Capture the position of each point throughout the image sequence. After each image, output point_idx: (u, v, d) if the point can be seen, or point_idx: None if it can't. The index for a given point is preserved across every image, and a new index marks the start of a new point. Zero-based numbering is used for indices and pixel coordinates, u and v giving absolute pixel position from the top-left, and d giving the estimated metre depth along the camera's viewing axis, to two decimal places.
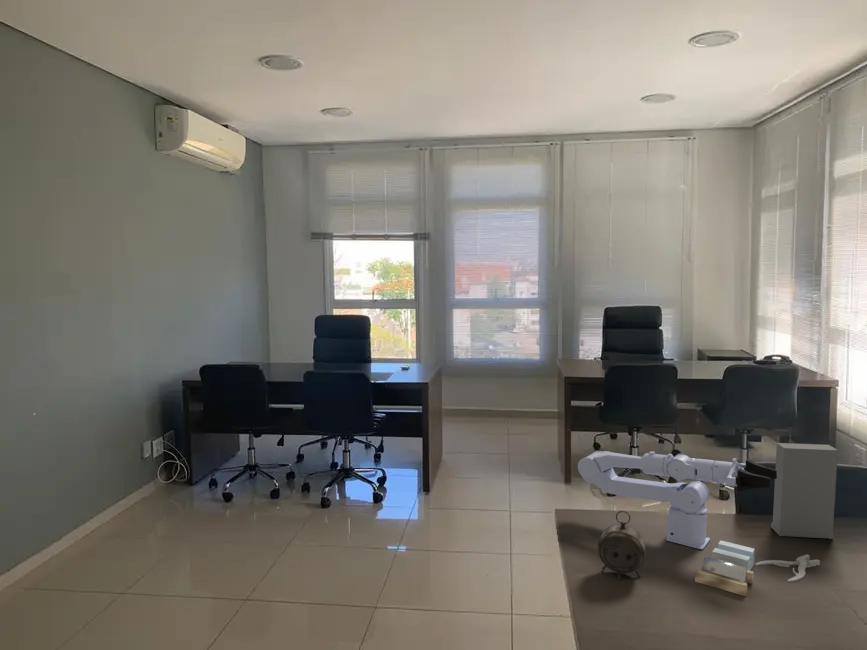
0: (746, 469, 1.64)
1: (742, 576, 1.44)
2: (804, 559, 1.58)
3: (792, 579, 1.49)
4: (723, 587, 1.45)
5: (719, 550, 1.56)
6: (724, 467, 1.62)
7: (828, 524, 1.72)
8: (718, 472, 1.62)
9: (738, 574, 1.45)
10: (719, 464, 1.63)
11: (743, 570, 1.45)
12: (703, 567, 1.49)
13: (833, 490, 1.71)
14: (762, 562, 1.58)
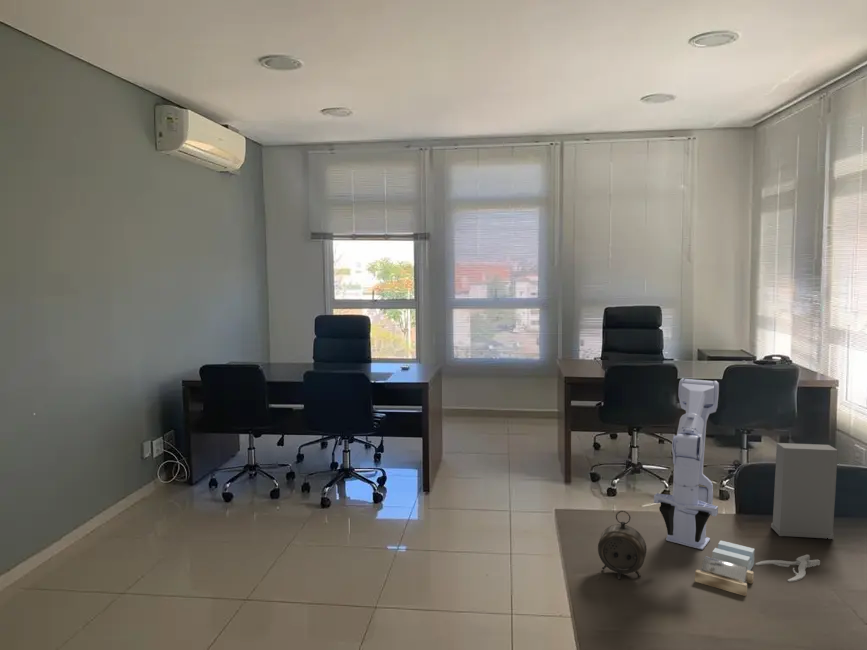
0: (698, 513, 1.51)
1: (742, 576, 1.44)
2: (804, 559, 1.58)
3: (792, 579, 1.50)
4: (723, 587, 1.45)
5: (719, 550, 1.56)
6: (674, 494, 1.53)
7: (828, 524, 1.72)
8: (673, 486, 1.54)
9: (738, 574, 1.45)
10: (676, 490, 1.52)
11: (743, 570, 1.45)
12: (703, 567, 1.49)
13: (833, 490, 1.71)
14: (762, 562, 1.58)
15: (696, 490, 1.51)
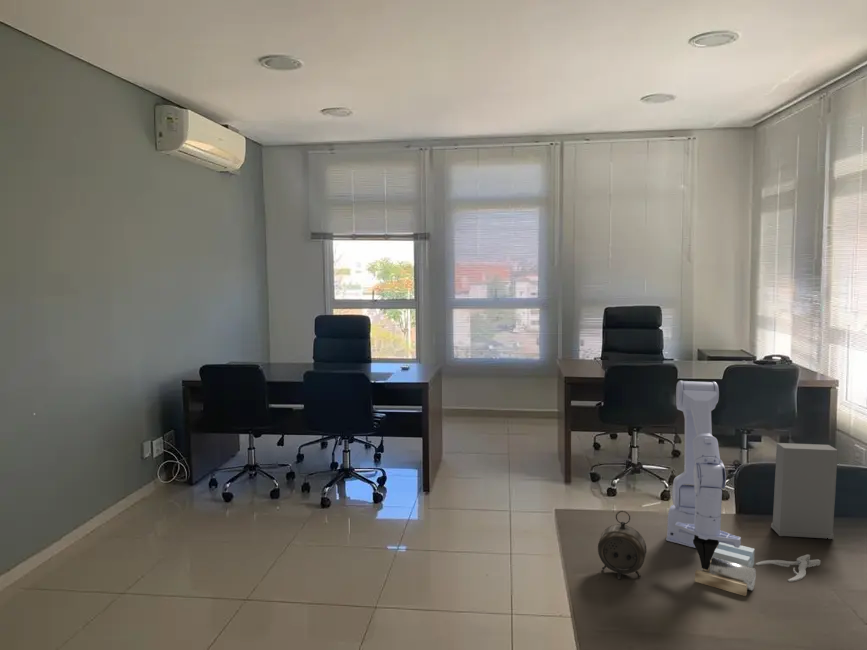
0: (707, 540, 1.50)
1: (750, 577, 1.44)
2: (804, 559, 1.58)
3: (793, 579, 1.50)
4: (723, 587, 1.45)
5: (719, 550, 1.56)
6: (696, 524, 1.50)
7: (828, 524, 1.72)
8: None
9: (746, 575, 1.44)
10: (698, 520, 1.49)
11: (752, 571, 1.44)
12: (711, 567, 1.49)
13: (833, 490, 1.71)
14: (763, 562, 1.58)
15: (718, 521, 1.48)
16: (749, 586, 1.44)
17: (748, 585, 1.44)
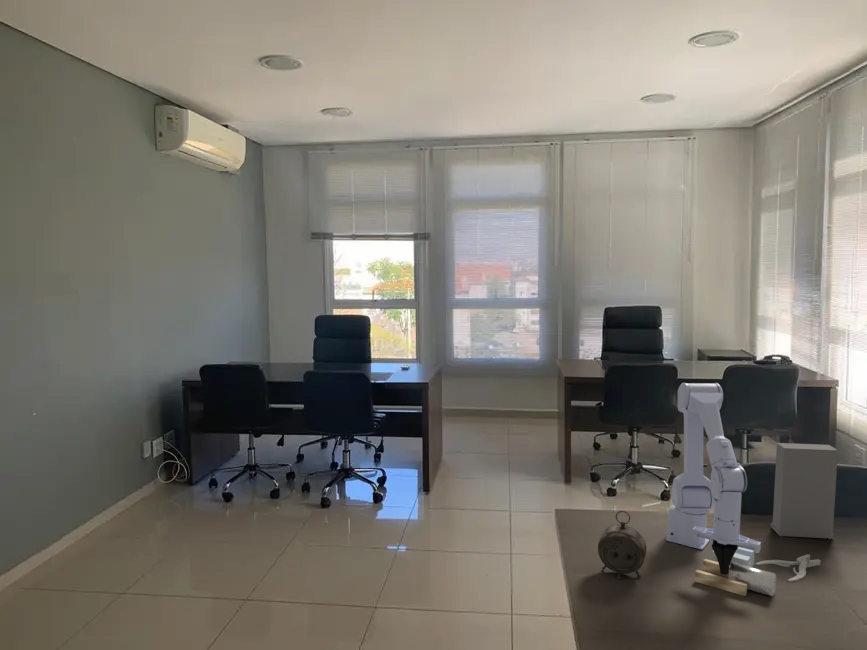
0: (726, 545, 1.48)
1: (771, 582, 1.41)
2: (805, 559, 1.58)
3: (793, 579, 1.50)
4: (723, 587, 1.45)
5: None
6: (715, 528, 1.47)
7: (828, 524, 1.72)
8: (713, 520, 1.49)
9: (767, 580, 1.42)
10: (717, 524, 1.47)
11: (772, 576, 1.42)
12: (730, 573, 1.46)
13: (833, 490, 1.71)
14: (763, 562, 1.58)
15: (737, 525, 1.45)
16: (770, 592, 1.41)
17: (769, 591, 1.41)
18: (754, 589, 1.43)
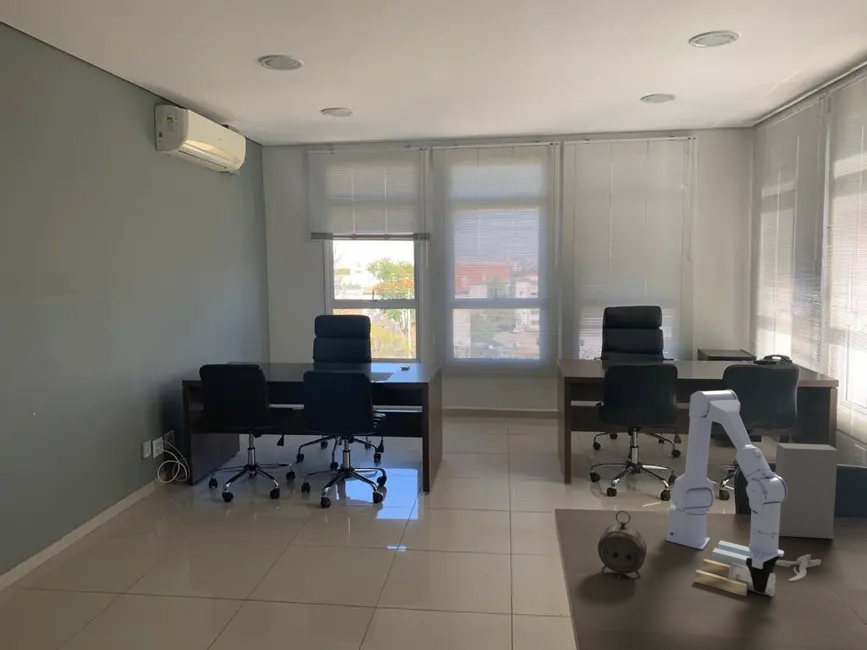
0: None
1: (771, 583, 1.41)
2: (805, 559, 1.58)
3: (793, 579, 1.50)
4: (723, 587, 1.45)
5: (719, 550, 1.56)
6: (772, 545, 1.40)
7: (828, 524, 1.72)
8: (765, 539, 1.40)
9: None
10: (775, 539, 1.40)
11: (772, 577, 1.42)
12: (730, 574, 1.46)
13: (833, 490, 1.71)
14: None
15: None
16: (769, 593, 1.41)
17: (768, 592, 1.41)
18: None
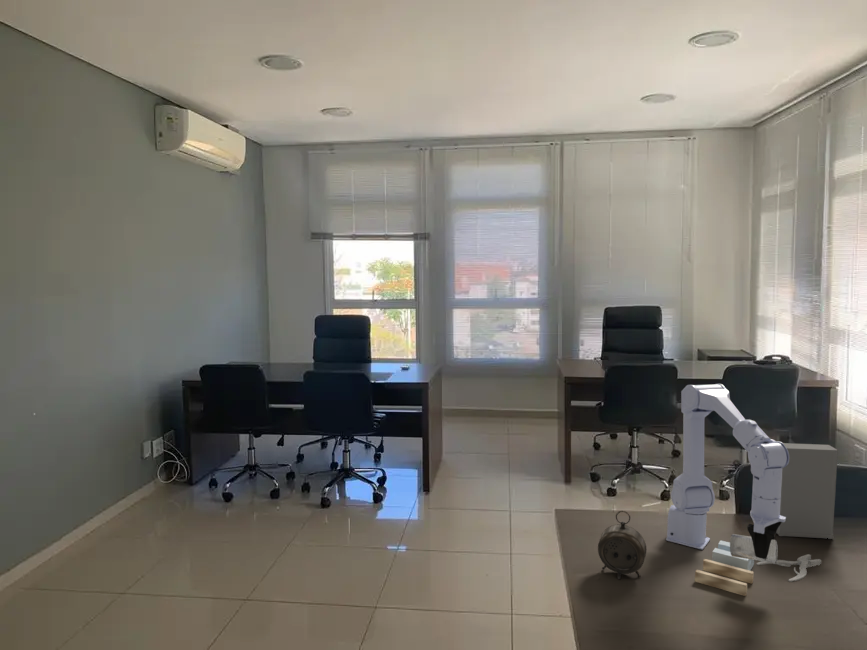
0: None
1: (772, 549, 1.40)
2: (805, 559, 1.58)
3: (793, 579, 1.50)
4: (723, 587, 1.45)
5: (719, 550, 1.56)
6: (774, 511, 1.39)
7: (828, 524, 1.72)
8: (767, 505, 1.40)
9: None
10: (777, 505, 1.40)
11: (772, 543, 1.41)
12: (731, 545, 1.45)
13: (833, 490, 1.71)
14: (763, 562, 1.58)
15: None
16: (772, 559, 1.40)
17: (771, 558, 1.40)
18: (756, 558, 1.42)
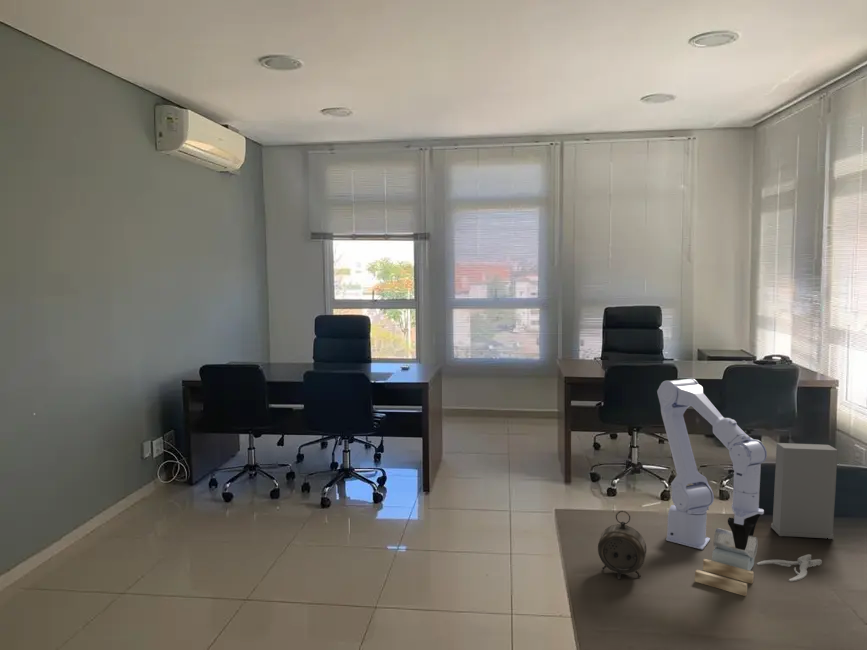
0: None
1: (753, 545, 1.52)
2: (806, 559, 1.58)
3: (794, 579, 1.50)
4: (723, 587, 1.45)
5: (719, 550, 1.56)
6: (753, 504, 1.51)
7: (828, 524, 1.72)
8: (746, 499, 1.51)
9: (748, 544, 1.52)
10: (755, 499, 1.51)
11: (753, 540, 1.53)
12: (715, 538, 1.57)
13: (833, 490, 1.71)
14: (764, 562, 1.58)
15: None
16: (751, 554, 1.52)
17: (750, 553, 1.52)
18: (737, 552, 1.54)
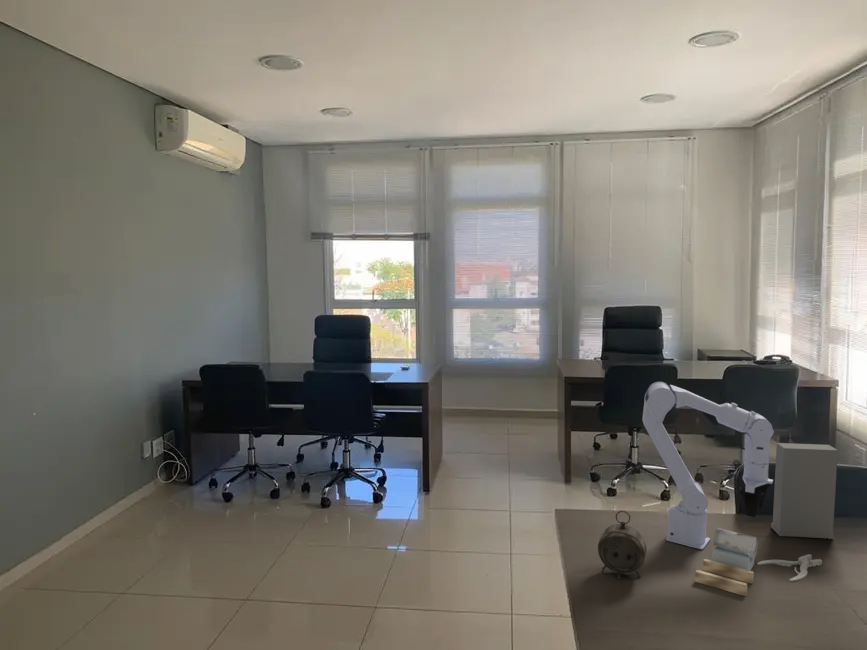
0: None
1: (753, 545, 1.52)
2: (806, 559, 1.58)
3: (794, 578, 1.50)
4: (723, 587, 1.45)
5: (719, 550, 1.56)
6: (763, 474, 1.62)
7: (828, 524, 1.72)
8: (756, 469, 1.62)
9: (748, 544, 1.52)
10: (765, 469, 1.62)
11: (753, 540, 1.53)
12: (715, 538, 1.57)
13: (833, 490, 1.71)
14: (764, 561, 1.58)
15: None
16: (751, 554, 1.52)
17: (750, 553, 1.52)
18: (737, 552, 1.54)
